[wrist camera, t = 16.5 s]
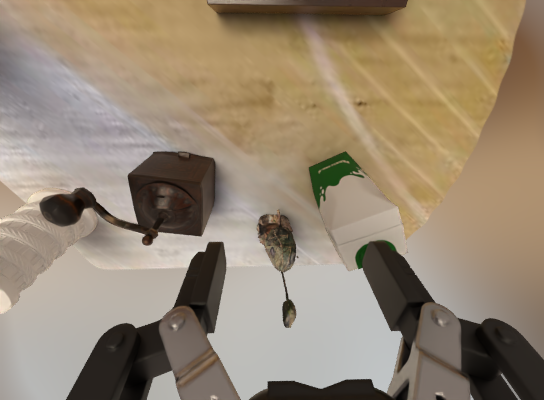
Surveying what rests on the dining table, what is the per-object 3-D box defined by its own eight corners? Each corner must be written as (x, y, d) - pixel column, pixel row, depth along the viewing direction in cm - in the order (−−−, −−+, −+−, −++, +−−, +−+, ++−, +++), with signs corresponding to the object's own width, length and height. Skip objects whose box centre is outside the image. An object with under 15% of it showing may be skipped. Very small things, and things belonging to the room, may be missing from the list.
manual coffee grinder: (215, 154, 38) (182, 216, 23) (214, 206, 44) (187, 282, 29) (122, 141, 37) (21, 199, 22) (134, 197, 43) (61, 272, 28)
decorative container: (61, 238, 48) (-34, 321, 33) (17, 194, 42) (-124, 271, 27) (109, 229, 47) (34, 310, 32) (71, 182, 41) (-44, 255, 26)
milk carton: (318, 201, 44) (350, 289, 27) (301, 164, 40) (327, 241, 23) (361, 184, 42) (424, 267, 25) (349, 143, 38) (415, 210, 21)
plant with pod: (303, 210, 45) (325, 299, 28) (283, 248, 51) (292, 341, 34) (265, 200, 44) (265, 288, 27) (250, 240, 49) (241, 333, 33)
